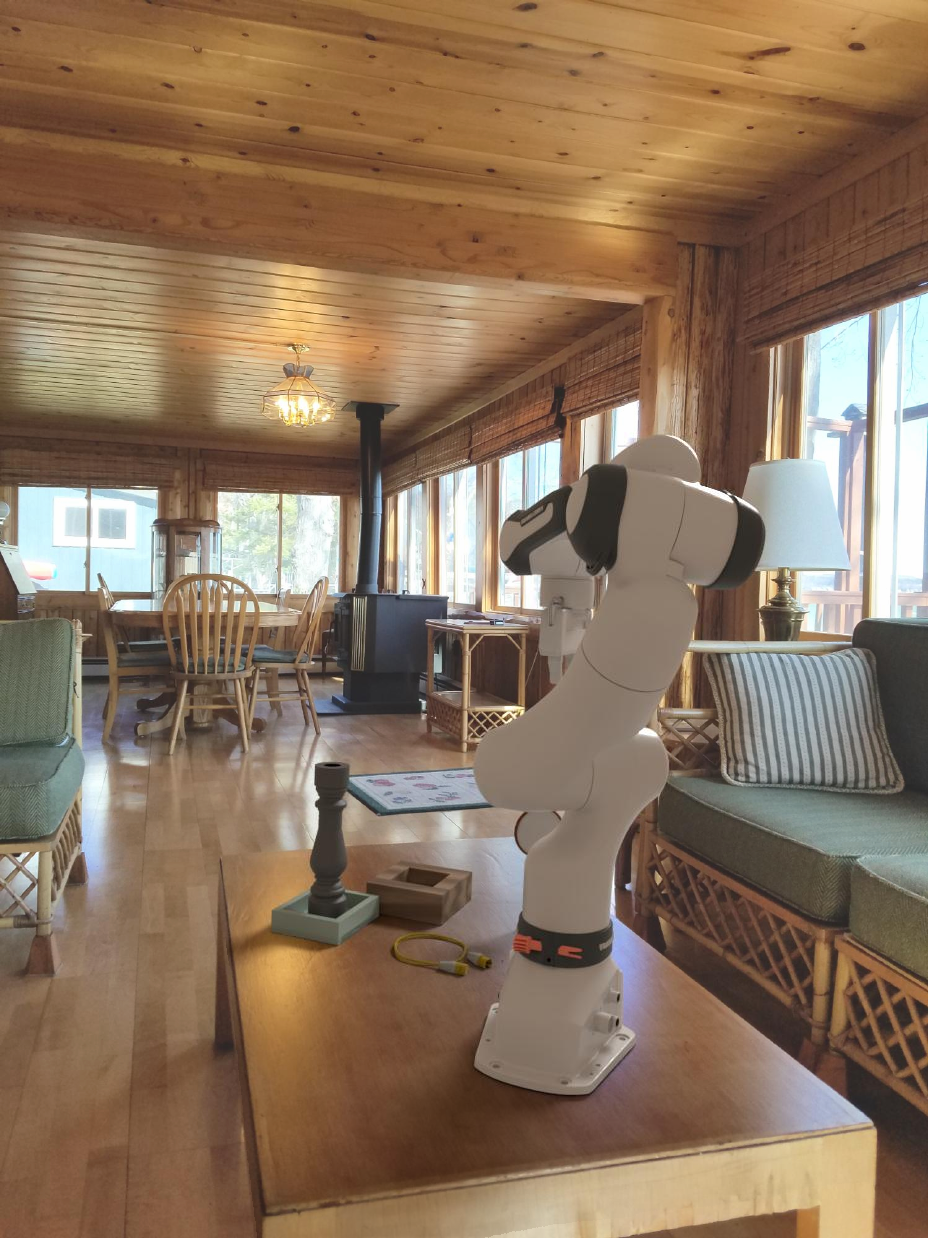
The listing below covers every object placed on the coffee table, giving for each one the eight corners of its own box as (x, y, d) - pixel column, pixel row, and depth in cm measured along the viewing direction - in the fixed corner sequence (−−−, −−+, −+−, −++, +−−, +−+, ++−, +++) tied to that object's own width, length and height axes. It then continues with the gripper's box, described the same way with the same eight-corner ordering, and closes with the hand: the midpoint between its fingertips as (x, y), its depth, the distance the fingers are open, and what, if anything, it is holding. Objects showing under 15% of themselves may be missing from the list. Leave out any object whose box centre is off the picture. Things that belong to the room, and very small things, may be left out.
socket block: (441, 925, 148) (442, 895, 147) (365, 911, 153) (366, 882, 152) (471, 899, 161) (472, 871, 161) (400, 887, 166) (401, 860, 166)
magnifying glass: (558, 923, 151) (563, 804, 150) (561, 926, 149) (567, 807, 149) (508, 924, 149) (514, 805, 149) (511, 928, 147) (516, 807, 147)
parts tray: (338, 945, 137) (338, 922, 137) (270, 932, 142) (271, 910, 142) (378, 916, 151) (379, 895, 150) (316, 904, 155) (316, 884, 155)
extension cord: (417, 986, 126) (418, 972, 126) (382, 944, 140) (382, 931, 140) (496, 974, 130) (497, 961, 130) (454, 935, 145) (454, 923, 145)
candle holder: (341, 926, 143) (347, 769, 142) (303, 923, 143) (309, 767, 142) (348, 912, 149) (354, 762, 148) (311, 910, 149) (317, 760, 149)
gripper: (571, 597, 137) (567, 688, 137) (598, 598, 156) (594, 678, 156) (531, 595, 139) (527, 685, 139) (562, 597, 158) (559, 675, 158)
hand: (563, 681), depth 148 cm, fingers open, 8 cm apart
